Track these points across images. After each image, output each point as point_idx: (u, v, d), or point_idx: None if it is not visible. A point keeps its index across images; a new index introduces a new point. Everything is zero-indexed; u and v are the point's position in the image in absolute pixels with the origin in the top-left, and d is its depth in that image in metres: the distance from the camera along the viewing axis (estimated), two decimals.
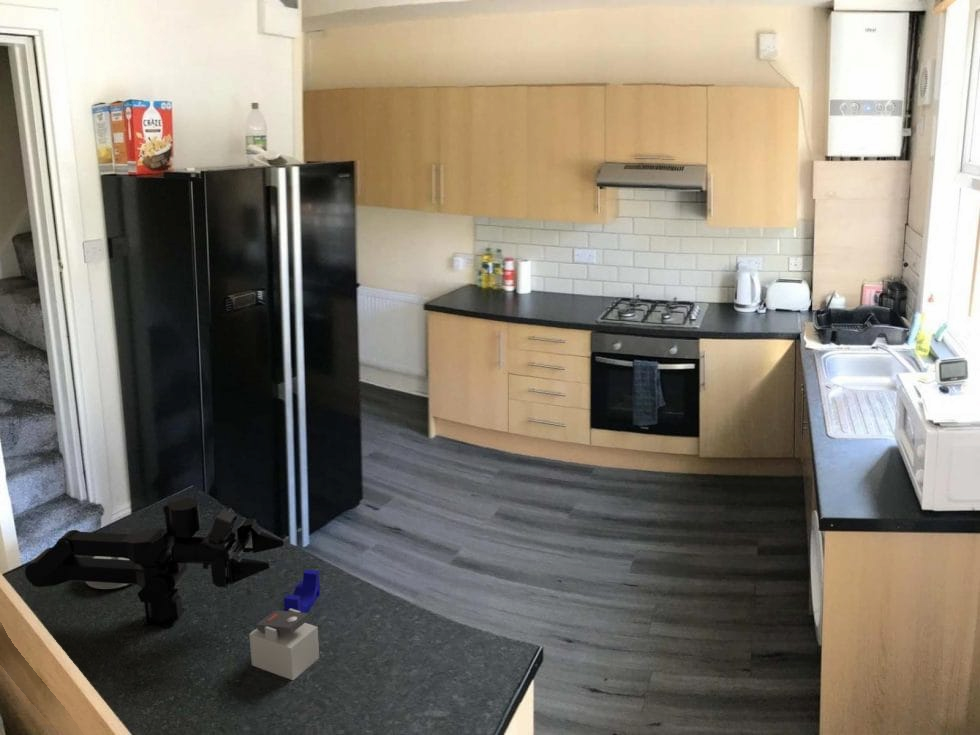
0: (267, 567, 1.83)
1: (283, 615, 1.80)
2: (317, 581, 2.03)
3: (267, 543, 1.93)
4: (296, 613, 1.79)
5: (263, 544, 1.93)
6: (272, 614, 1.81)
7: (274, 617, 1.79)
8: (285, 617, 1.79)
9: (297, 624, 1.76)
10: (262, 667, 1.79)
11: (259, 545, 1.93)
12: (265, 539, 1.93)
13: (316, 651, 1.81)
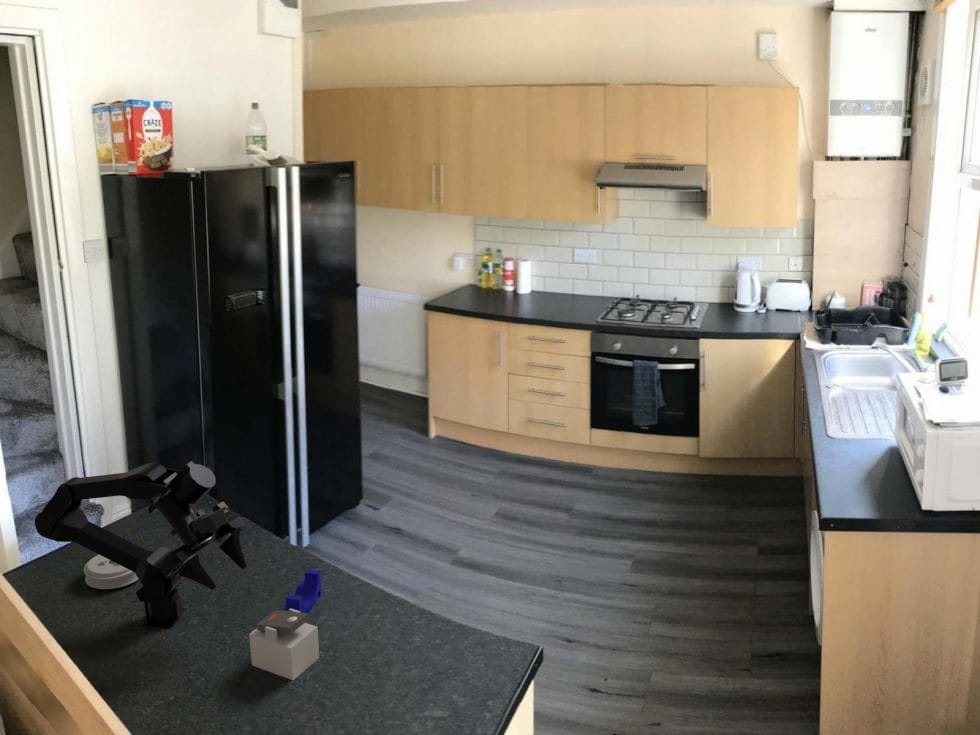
0: (211, 588, 1.81)
1: (283, 615, 1.80)
2: (319, 581, 2.03)
3: (234, 555, 1.89)
4: (296, 613, 1.79)
5: (230, 552, 1.89)
6: (272, 614, 1.81)
7: (274, 617, 1.79)
8: (285, 617, 1.79)
9: (297, 624, 1.76)
10: (262, 667, 1.79)
11: (227, 549, 1.89)
12: (235, 551, 1.88)
13: (316, 651, 1.81)
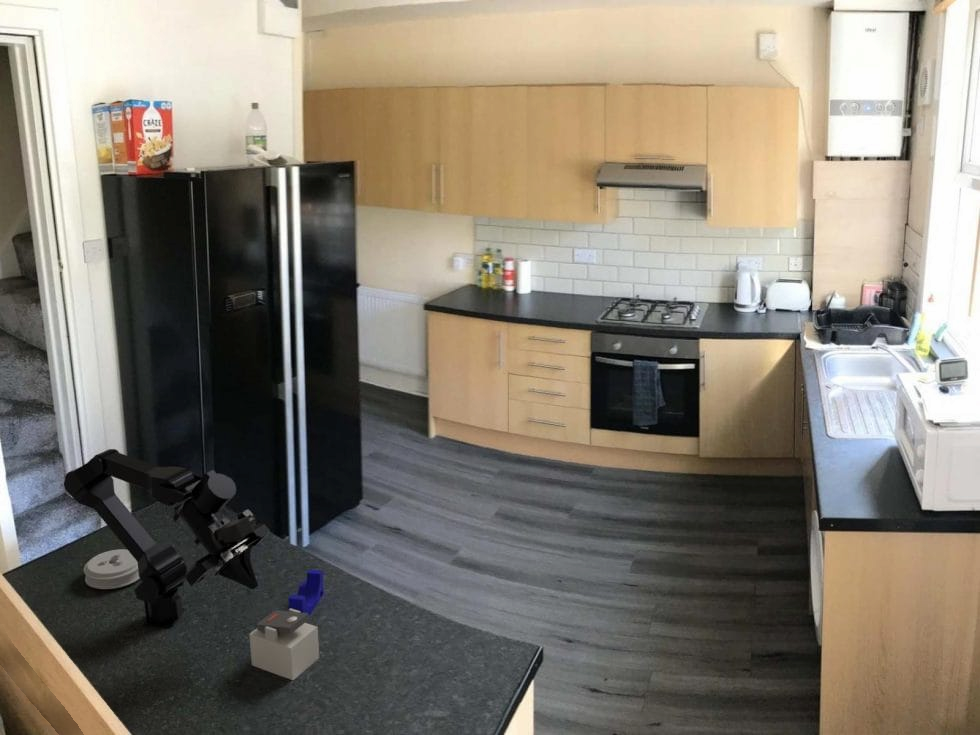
0: (252, 588, 1.80)
1: (283, 615, 1.80)
2: (321, 581, 2.03)
3: None
4: (296, 613, 1.79)
5: None
6: (272, 614, 1.81)
7: (274, 617, 1.79)
8: (285, 617, 1.79)
9: (297, 624, 1.76)
10: (262, 667, 1.79)
11: None
12: (246, 569, 1.80)
13: (316, 651, 1.81)
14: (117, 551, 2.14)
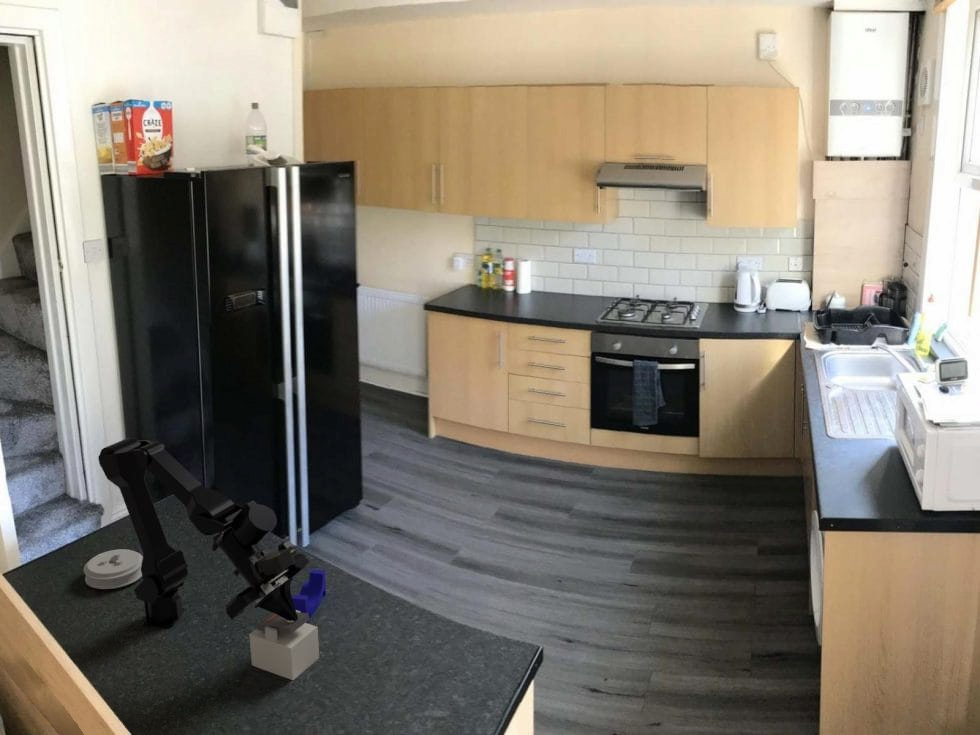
0: None
1: None
2: (324, 581, 2.03)
3: None
4: None
5: None
6: (272, 614, 1.81)
7: (274, 617, 1.79)
8: None
9: (297, 624, 1.76)
10: (262, 667, 1.79)
11: None
12: (286, 601, 1.77)
13: (316, 651, 1.81)
14: (117, 551, 2.14)
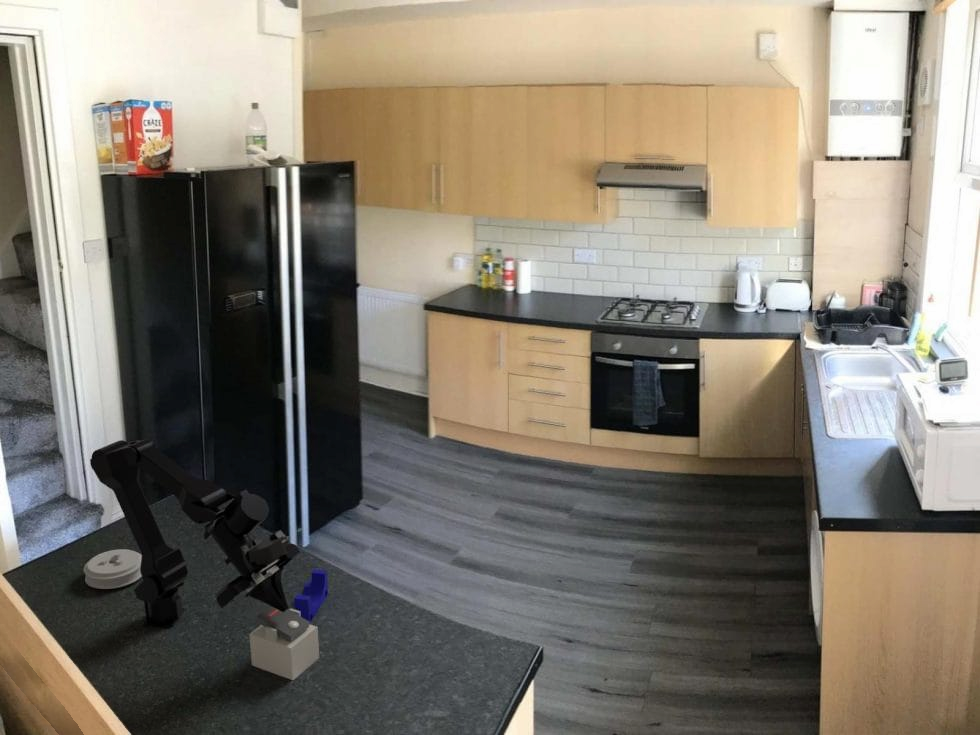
0: (282, 610, 1.77)
1: (284, 614, 1.79)
2: (326, 581, 2.03)
3: None
4: (297, 617, 1.80)
5: None
6: (272, 607, 1.81)
7: (275, 613, 1.79)
8: (286, 617, 1.79)
9: (298, 633, 1.76)
10: (262, 667, 1.79)
11: None
12: (276, 591, 1.77)
13: (316, 651, 1.81)
14: (117, 551, 2.14)
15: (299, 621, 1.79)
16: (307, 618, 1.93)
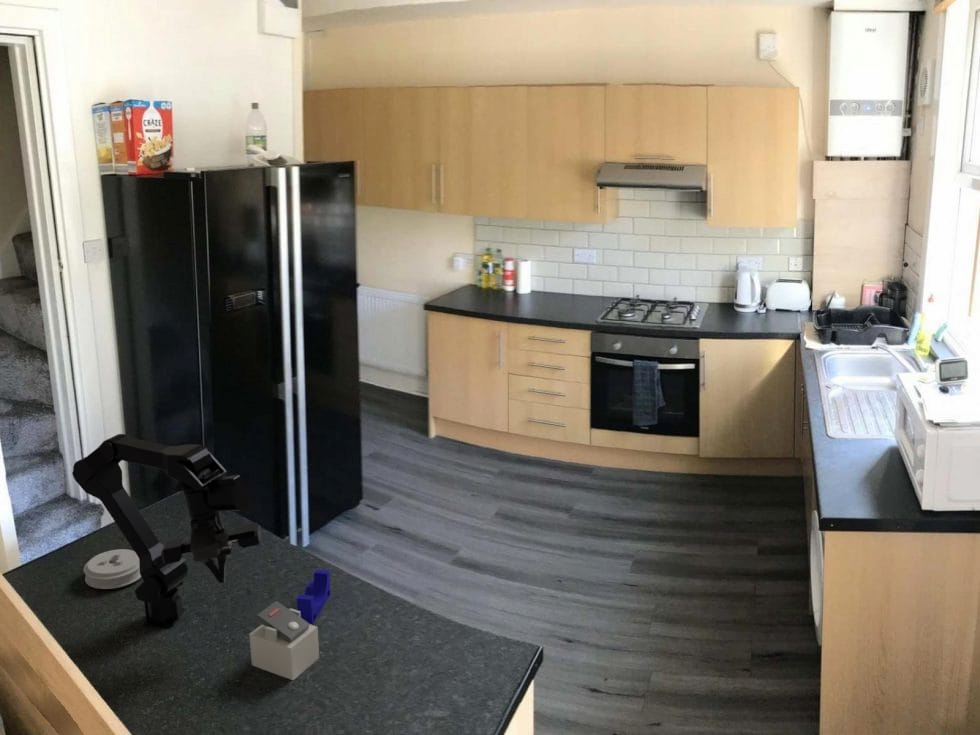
0: None
1: (284, 614, 1.79)
2: (328, 581, 2.03)
3: None
4: (297, 617, 1.80)
5: None
6: (273, 606, 1.80)
7: (275, 613, 1.79)
8: (287, 618, 1.79)
9: (297, 634, 1.76)
10: (262, 667, 1.79)
11: None
12: (218, 565, 1.84)
13: (316, 651, 1.81)
14: (117, 551, 2.14)
15: (299, 622, 1.79)
16: (310, 618, 1.93)
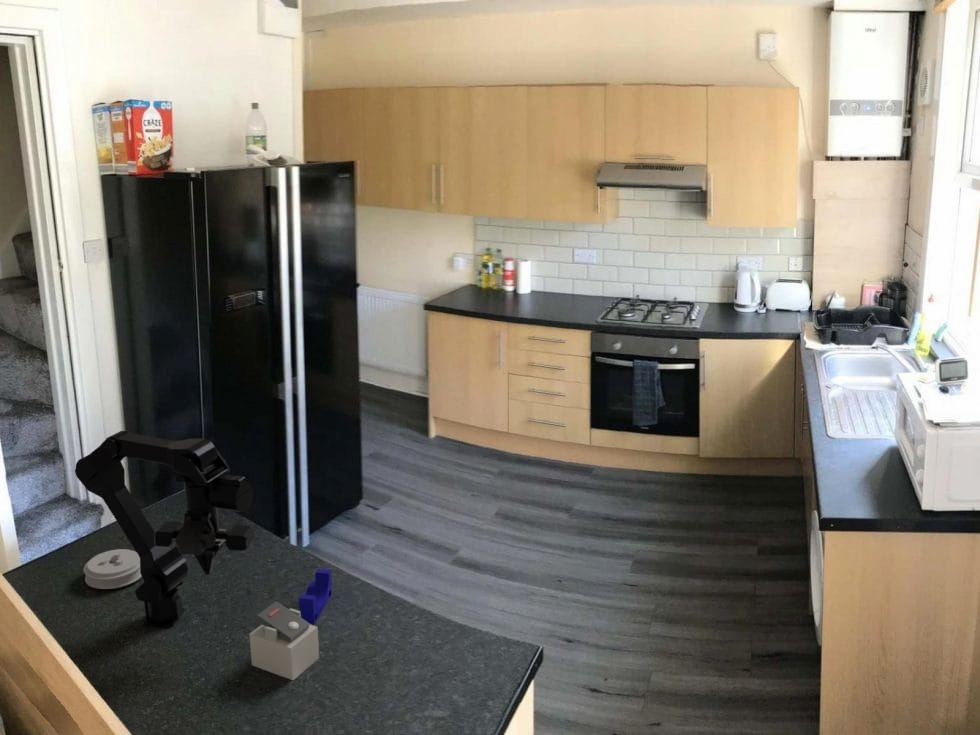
0: None
1: (284, 614, 1.79)
2: (330, 581, 2.03)
3: None
4: (297, 617, 1.80)
5: None
6: (273, 606, 1.80)
7: (275, 613, 1.79)
8: (287, 618, 1.79)
9: (297, 634, 1.76)
10: (262, 667, 1.79)
11: None
12: None
13: (316, 651, 1.81)
14: (117, 551, 2.14)
15: (299, 622, 1.79)
16: (312, 618, 1.93)
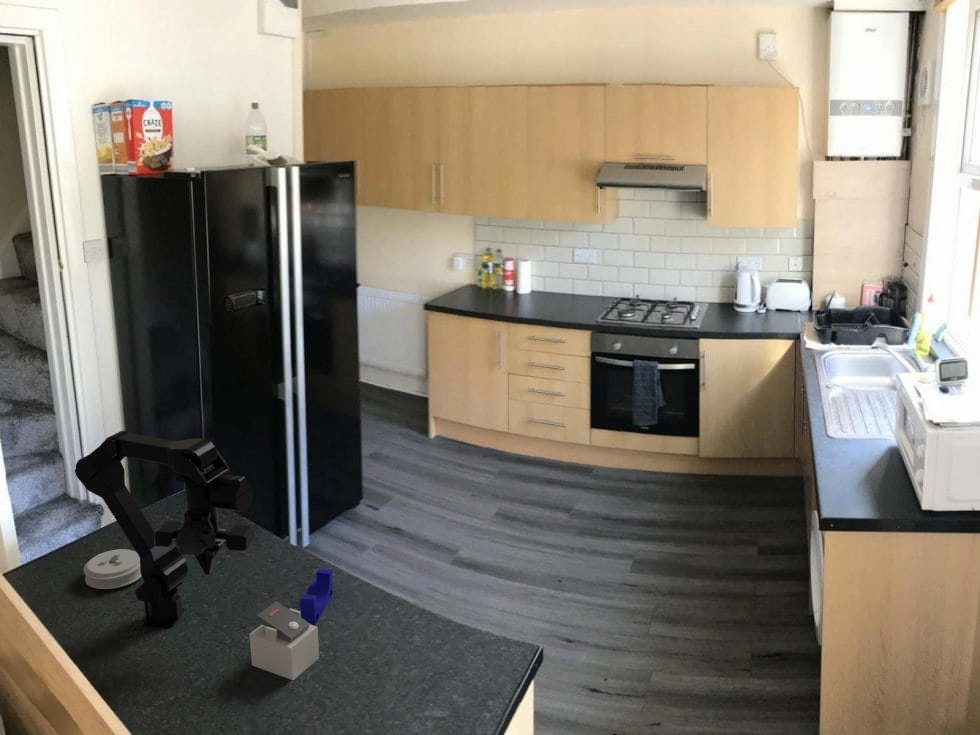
0: None
1: (284, 614, 1.79)
2: (331, 581, 2.03)
3: None
4: (297, 617, 1.80)
5: None
6: (273, 606, 1.80)
7: (275, 613, 1.79)
8: (287, 618, 1.79)
9: (297, 634, 1.76)
10: (262, 667, 1.79)
11: None
12: None
13: (316, 651, 1.81)
14: (117, 551, 2.14)
15: (299, 622, 1.79)
16: (313, 618, 1.93)
